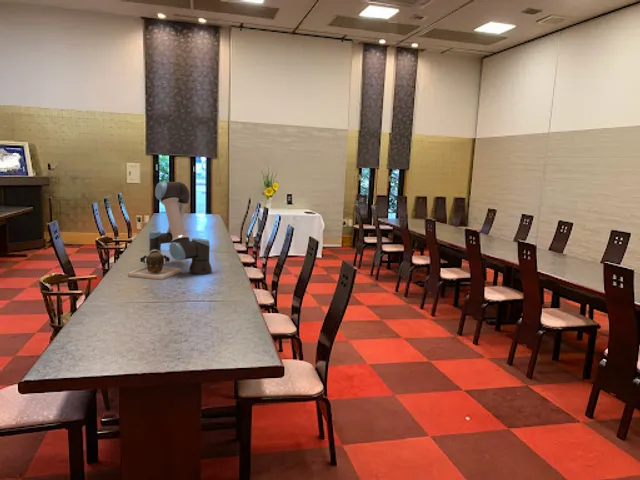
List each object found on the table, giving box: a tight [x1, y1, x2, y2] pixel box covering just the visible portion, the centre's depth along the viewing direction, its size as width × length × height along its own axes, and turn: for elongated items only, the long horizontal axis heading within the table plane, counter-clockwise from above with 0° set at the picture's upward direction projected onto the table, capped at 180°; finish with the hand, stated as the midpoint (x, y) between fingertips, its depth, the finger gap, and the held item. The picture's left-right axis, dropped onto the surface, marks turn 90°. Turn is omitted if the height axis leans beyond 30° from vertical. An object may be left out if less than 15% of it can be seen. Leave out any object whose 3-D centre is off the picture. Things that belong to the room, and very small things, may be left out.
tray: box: [127, 265, 182, 281], centre depth 310 cm, size 24×24×2 cm
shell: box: [145, 252, 164, 272], centre depth 309 cm, size 11×11×12 cm
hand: (155, 262), depth 306 cm, fingers closed on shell, 11 cm apart
